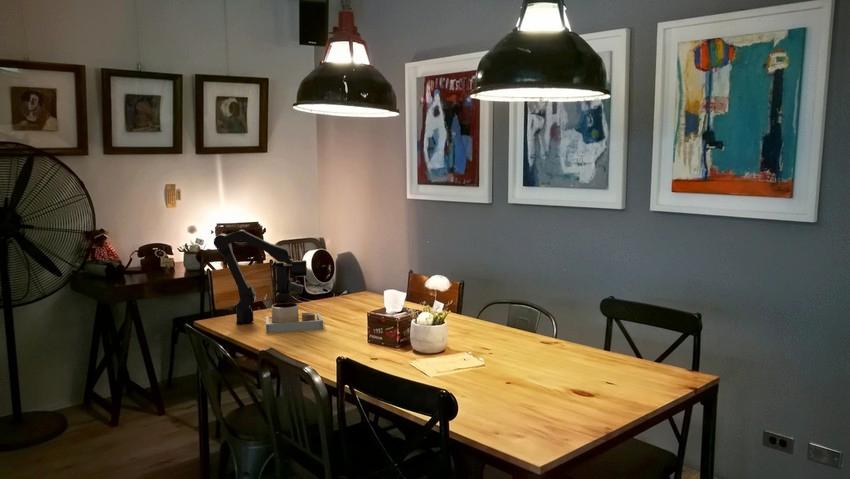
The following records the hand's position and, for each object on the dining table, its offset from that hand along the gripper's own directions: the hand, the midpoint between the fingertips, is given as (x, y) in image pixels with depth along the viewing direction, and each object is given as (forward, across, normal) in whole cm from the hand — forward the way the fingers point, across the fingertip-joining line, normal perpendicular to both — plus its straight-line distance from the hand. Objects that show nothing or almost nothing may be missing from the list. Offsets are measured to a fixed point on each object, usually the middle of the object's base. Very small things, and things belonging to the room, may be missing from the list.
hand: (283, 313), depth 289 cm
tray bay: (+4, -12, -4) cm, 13 cm away
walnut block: (+4, -10, -10) cm, 15 cm away
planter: (+4, -12, 0) cm, 13 cm away
